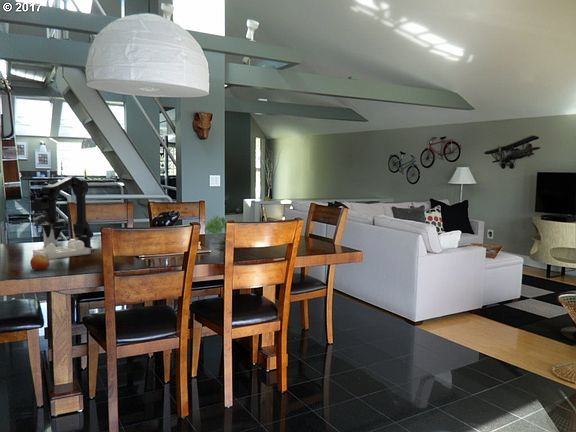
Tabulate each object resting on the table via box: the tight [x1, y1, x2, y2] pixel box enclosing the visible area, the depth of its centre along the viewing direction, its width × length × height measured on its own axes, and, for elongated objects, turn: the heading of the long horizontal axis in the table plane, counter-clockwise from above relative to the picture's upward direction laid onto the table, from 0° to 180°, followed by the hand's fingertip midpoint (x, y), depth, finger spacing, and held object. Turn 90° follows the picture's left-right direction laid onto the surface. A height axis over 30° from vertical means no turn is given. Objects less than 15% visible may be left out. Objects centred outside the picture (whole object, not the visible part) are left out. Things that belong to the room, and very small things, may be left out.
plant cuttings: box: [203, 214, 227, 244], centre depth 300 cm, size 35×17×22 cm
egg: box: [44, 243, 57, 253], centre depth 242 cm, size 5×5×7 cm
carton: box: [32, 238, 92, 260], centre depth 250 cm, size 24×16×8 cm
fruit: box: [30, 255, 51, 272], centre depth 213 cm, size 8×8×8 cm
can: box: [42, 228, 58, 247], centre depth 279 cm, size 8×8×12 cm
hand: (51, 238), depth 246 cm, fingers open, 9 cm apart
